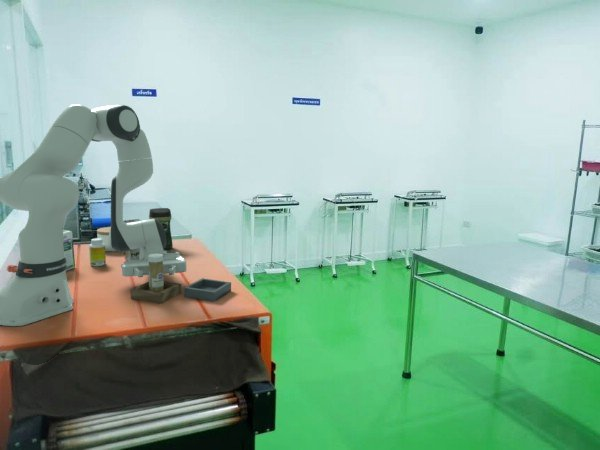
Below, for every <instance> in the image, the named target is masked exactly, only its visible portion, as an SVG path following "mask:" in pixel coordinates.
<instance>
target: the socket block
mask: <svg viewBox="0 0 600 450" xmlns="http://www.w3.org/2000/svg"><path fill="white" fill-rule="evenodd" d="M163 287H164V290H163V291H161V292H156V291H150V287H149V281H146V282H144V283H142V284H140V285H138V286H135V287H133V288H131V289H130V299H132V300H136V301H142V302H143V301H144V302H149V303H153V304H154V303H156V304H162V303H163V304H164V303H165V302H167V301H168V300H170V299H172V298H174V297H176V296H178V295H179V294H181V293H182V283H178V282H171V281H166V280H165V281H164V285H163Z"/></svg>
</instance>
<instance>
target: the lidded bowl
mask: <svg viewBox="0 0 600 450" xmlns="http://www.w3.org/2000/svg"><path fill="white" fill-rule="evenodd" d="M110 227H111V226H107V227H105V226H104V227H100V228H97V230H96V235H97V237H96V238H101V239H102V241H103V244H105V252H117V251H116V250H115V249H113V248H112V246H111V244H110V241H109V232H110Z"/></svg>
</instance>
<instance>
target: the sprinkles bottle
mask: <svg viewBox="0 0 600 450" xmlns="http://www.w3.org/2000/svg"><path fill="white" fill-rule="evenodd" d="M148 261H149V275H148V282H149V287H150V291H156V292H161V291H163V290H164V287H163V285H164V280H165V279H164V274H163V255H162V254H150V255H149V256H148Z"/></svg>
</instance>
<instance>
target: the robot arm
mask: <svg viewBox="0 0 600 450" xmlns="http://www.w3.org/2000/svg"><path fill="white" fill-rule="evenodd" d="M148 141H149V140H148V138H147V135H146V133H145V131H144V130H143V129H141V125H140V120H139V117H138V115H137V113H136V112H135V111H134V109H133V108H132V107H131V106H129V105H125V104H114V105H103V106H98V107H95V108H92V109H90V108H89V107H87V106H85V105H82V104H71V105H69V106H67V107H66V108H65V109H64V110H63V111H62V112H61V114H59V115H58V117H57V118H56V120H55V121H54V122H53V124H52V125H51V127H50V128H49V129H48V132H47V133H46V135H45V136H44V138H43V140H42V141H41V143H40V144H39V145H38V147H37V149H36V150H35V151H33V153H32V154H31V155H30V156H29V157H27V158H26V160H25V161H23V162H22V163H21V164H20V165H19V166H18V167H16V168H15V169H14V170H12V171H10V172H9V173H7V174H5V175H3V176H1V178H0V202H1V203H2V204H3V205H5V206H7V207H9V208H11V209H14V210H18V211H26V212H28V218H27V222H26V225H25V228H23V229H22V230H20V232H19V233H18V248H19V259H20V260H19V261H18V264H17V265H13V264H8V265H7V267H6V271H7V272H8V273H15V276H14V277H13V278H12V279H11V280H10V282H8V284H6V286H5V287H3V288H2V290H1V291H0V326H7V327H22V326H25V325H29V324H31V323H35V322H38V321H40V320H44V319H47V318H50V317H53V316H56V315H60V314H62V313H65V312H68V311H72V310H73V309H74V306H73V304H74V299H73V296H72V293H71V292H70V288H69V284H68V283H69V282H68V279H67V278H68V277H67V273H66V272H67V271H65V270H66V269H67V266H66V257H65V256H64V248H63V230H65V229H64V228H65V223H66V221H67V218H68V215H69V214H70V213H71V212H72V211H73V210H74V209H75V208H76V207H77V205H78V203H79V200H80V191H79V188H78V185H77V184H76V183H75V182H74V181H72V179H69V178H66V177H65V175H67V174H70V173H71V172H73V171H74V170H76V168H77V167H78V166H79V164H80V162H81V160H82V158H83V156H84V155H85V152H86V151H87V149H88V147H89V145H90V143H91V142H111V143H112V144H114V146H115V148H116V153H117V154H116V155H117V160H118V172H117V174H116V176H115V177H113V178H112V180H111V185H110V226H109V227H110V232H109V241H110V244H111V246H112V248H113V249H115V250H116V251H115V252H118V253H121V254H122V253H125V252H126V251H130V250H133V249H138V248H141V250H140V254H139V259H140V260H129V261H128V260H126V261H124V262H123V263H122V264H121V265H120V268H121V274H122V276H123V277H137V278H143V277H144V276H149V261H148V256H149V255H150V254H162V255H163V275H164V274H166V275H167V274H168V275H169V276H172V275H173V276H174V275H175V274H177V273H179V274H180V273H187V260H186V259H185V258H184V256H182V255H180V252H178V251H169V250H163V249H164V248H165V246H166V244H167V241H166V234H165V231H164V228H163V225H162V223H161V222H160V221H158V220H157V219H155V218H154V219H149V218H148V219H147V218H146V219H141V221H142V222H141V221H136V222H129V223H125V222H123V221H124V215H123V214H124V198H125V197H126V196H127V195H128V194H129V193H130V192H131V191H133V190H135V189H137V188H140V187H141V186H143V185H144V184H146V183H147V182H148V181H149V180H150V179H151V178H152V176H153V174H154V164H153V156H152V152H151V151H152V150H151V148H150V144H149V142H148ZM142 226H143V228H142ZM143 232H144V233H143ZM144 238H145V239H144Z"/></svg>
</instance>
